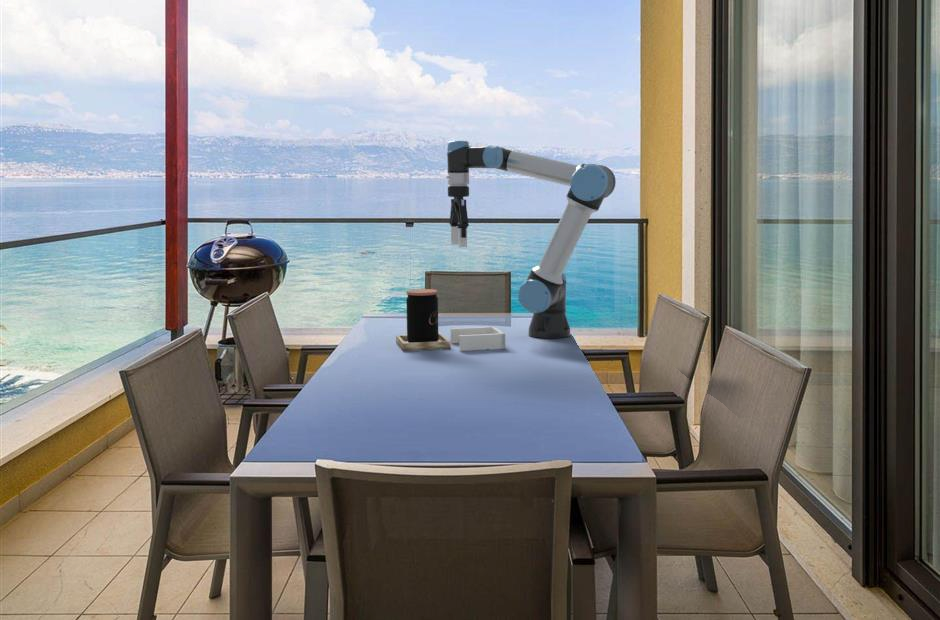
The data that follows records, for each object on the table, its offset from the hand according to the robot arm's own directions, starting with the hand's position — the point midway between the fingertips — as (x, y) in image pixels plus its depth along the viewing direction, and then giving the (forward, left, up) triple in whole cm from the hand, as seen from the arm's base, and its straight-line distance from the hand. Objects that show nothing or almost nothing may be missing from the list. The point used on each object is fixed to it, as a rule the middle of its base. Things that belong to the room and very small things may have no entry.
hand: (458, 245), depth 303 cm
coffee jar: (+16, +14, -32) cm, 38 cm away
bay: (-2, +19, -33) cm, 38 cm away
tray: (+16, +14, -33) cm, 39 cm away
